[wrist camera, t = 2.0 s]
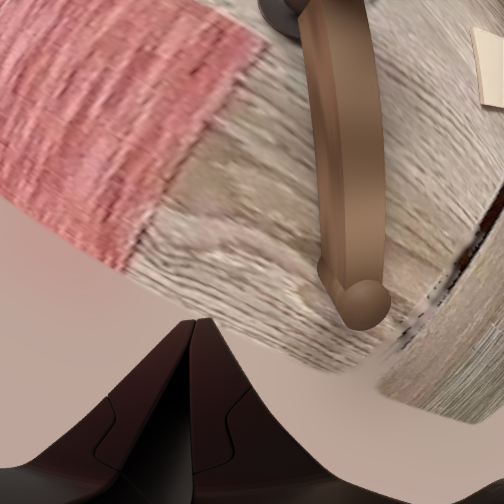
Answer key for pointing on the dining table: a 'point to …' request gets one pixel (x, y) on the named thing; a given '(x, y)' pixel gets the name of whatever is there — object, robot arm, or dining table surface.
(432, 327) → the dining table surface
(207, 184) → the dining table surface
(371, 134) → the gate
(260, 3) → the hinge base
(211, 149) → the dining table surface
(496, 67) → the open pad
